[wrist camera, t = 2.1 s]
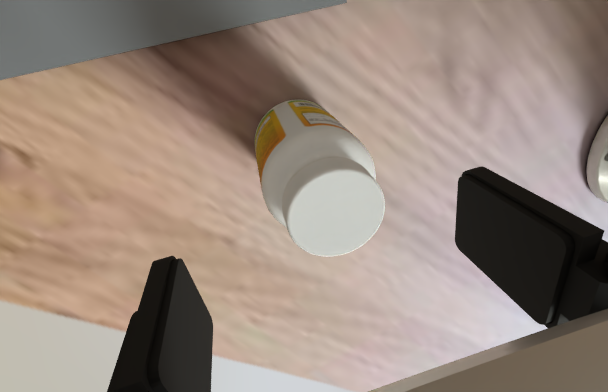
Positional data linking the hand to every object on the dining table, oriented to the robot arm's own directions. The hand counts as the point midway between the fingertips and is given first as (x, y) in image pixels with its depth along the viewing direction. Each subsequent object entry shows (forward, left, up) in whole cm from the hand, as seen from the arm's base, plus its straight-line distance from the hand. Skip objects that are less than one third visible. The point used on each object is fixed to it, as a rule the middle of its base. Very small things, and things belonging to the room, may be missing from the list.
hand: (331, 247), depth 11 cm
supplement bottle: (-1, 0, -12) cm, 12 cm away
